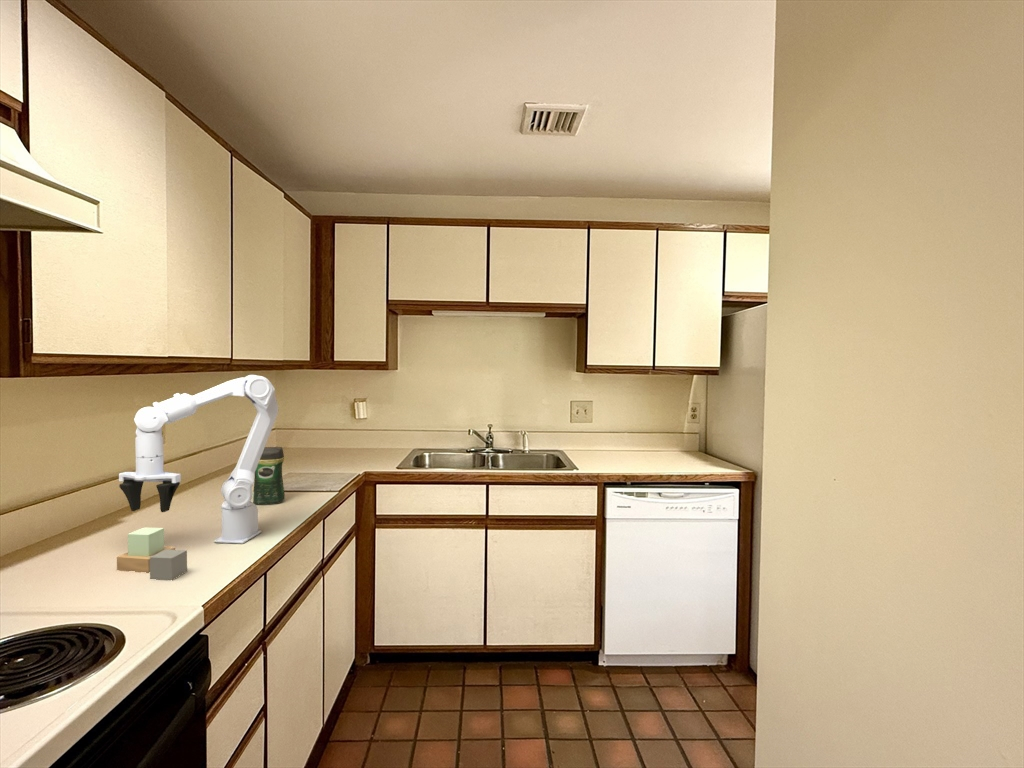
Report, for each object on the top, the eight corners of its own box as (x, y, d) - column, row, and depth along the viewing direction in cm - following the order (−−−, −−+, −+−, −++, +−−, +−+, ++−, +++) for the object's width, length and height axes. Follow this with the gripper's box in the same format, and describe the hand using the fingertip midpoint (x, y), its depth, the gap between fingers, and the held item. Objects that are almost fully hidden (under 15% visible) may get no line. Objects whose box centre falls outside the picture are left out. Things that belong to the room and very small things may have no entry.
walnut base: (145, 559, 132) (145, 545, 132) (175, 561, 131) (175, 547, 130) (116, 572, 124) (116, 556, 124) (148, 574, 123) (148, 559, 123)
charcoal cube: (166, 571, 124) (165, 549, 124) (187, 571, 124) (186, 550, 124) (150, 579, 119) (149, 557, 119) (172, 580, 119) (171, 558, 119)
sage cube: (144, 548, 130) (143, 527, 129) (164, 549, 129) (164, 528, 129) (127, 555, 125) (127, 534, 124) (148, 556, 124) (148, 534, 124)
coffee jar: (286, 498, 188) (286, 445, 187) (281, 504, 180) (281, 448, 179) (256, 499, 186) (255, 445, 185) (250, 505, 178) (249, 449, 177)
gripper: (108, 457, 131) (109, 514, 131) (166, 459, 130) (167, 516, 130) (130, 452, 138) (131, 506, 138) (186, 454, 137) (186, 508, 138)
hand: (150, 510), depth 135 cm, fingers open, 7 cm apart
